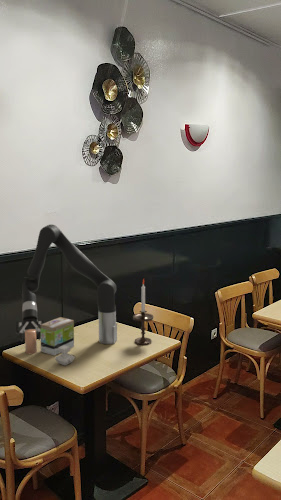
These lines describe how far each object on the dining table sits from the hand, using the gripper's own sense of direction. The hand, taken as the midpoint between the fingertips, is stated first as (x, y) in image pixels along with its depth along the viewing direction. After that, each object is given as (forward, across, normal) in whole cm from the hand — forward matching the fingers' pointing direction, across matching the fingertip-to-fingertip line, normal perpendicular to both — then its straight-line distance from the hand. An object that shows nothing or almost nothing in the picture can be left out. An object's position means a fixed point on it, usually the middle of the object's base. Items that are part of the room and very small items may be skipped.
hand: (30, 340), depth 235 cm
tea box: (+4, +14, +5) cm, 15 cm away
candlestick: (+4, +59, +5) cm, 59 cm away
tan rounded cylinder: (+4, 0, +4) cm, 6 cm away
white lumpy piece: (+17, +16, -8) cm, 25 cm away
